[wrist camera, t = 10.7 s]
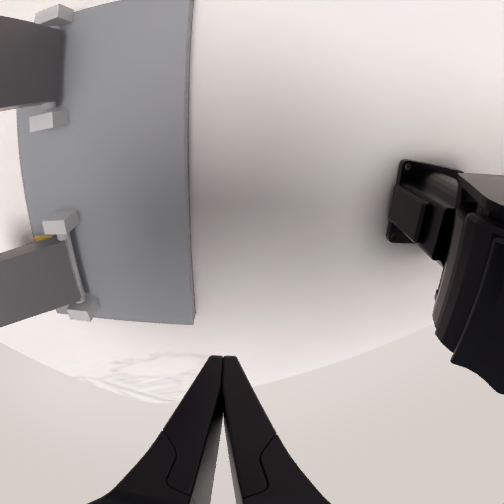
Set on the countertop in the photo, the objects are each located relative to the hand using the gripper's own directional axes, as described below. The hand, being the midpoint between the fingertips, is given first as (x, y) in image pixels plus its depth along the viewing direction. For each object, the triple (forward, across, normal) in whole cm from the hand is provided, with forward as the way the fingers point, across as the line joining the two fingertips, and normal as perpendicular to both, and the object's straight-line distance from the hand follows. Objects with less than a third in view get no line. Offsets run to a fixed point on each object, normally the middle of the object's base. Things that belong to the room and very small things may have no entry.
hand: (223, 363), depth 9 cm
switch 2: (+10, +12, +3) cm, 16 cm away
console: (+13, +10, -4) cm, 16 cm away
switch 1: (+10, +12, -12) cm, 20 cm away
